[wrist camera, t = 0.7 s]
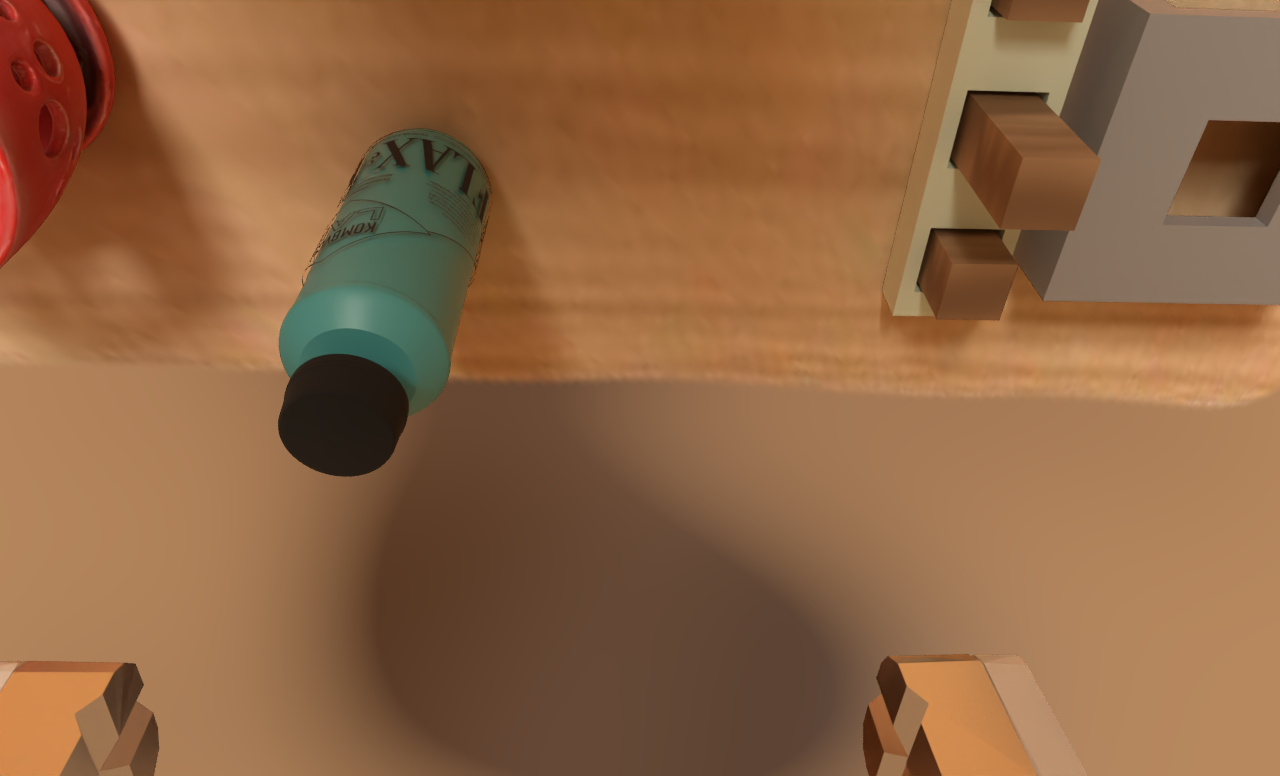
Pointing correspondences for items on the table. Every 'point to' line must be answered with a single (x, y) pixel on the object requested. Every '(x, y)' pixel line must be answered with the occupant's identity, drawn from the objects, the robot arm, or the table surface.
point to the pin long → (1023, 161)
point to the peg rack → (968, 60)
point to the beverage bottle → (382, 302)
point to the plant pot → (46, 106)
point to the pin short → (1042, 10)
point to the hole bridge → (1162, 159)
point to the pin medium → (966, 273)
